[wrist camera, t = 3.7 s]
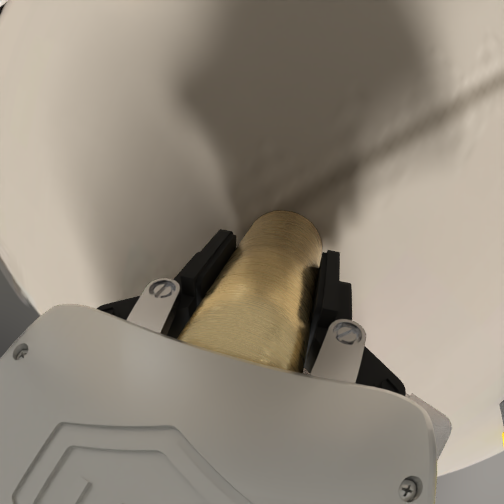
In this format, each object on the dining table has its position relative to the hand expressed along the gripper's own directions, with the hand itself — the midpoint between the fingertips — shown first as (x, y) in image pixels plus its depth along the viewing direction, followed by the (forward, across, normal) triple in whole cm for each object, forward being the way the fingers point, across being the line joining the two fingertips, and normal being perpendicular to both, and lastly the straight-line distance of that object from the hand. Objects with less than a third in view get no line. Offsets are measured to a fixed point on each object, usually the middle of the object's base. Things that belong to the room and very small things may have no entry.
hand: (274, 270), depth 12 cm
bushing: (+2, 0, 0) cm, 2 cm away
